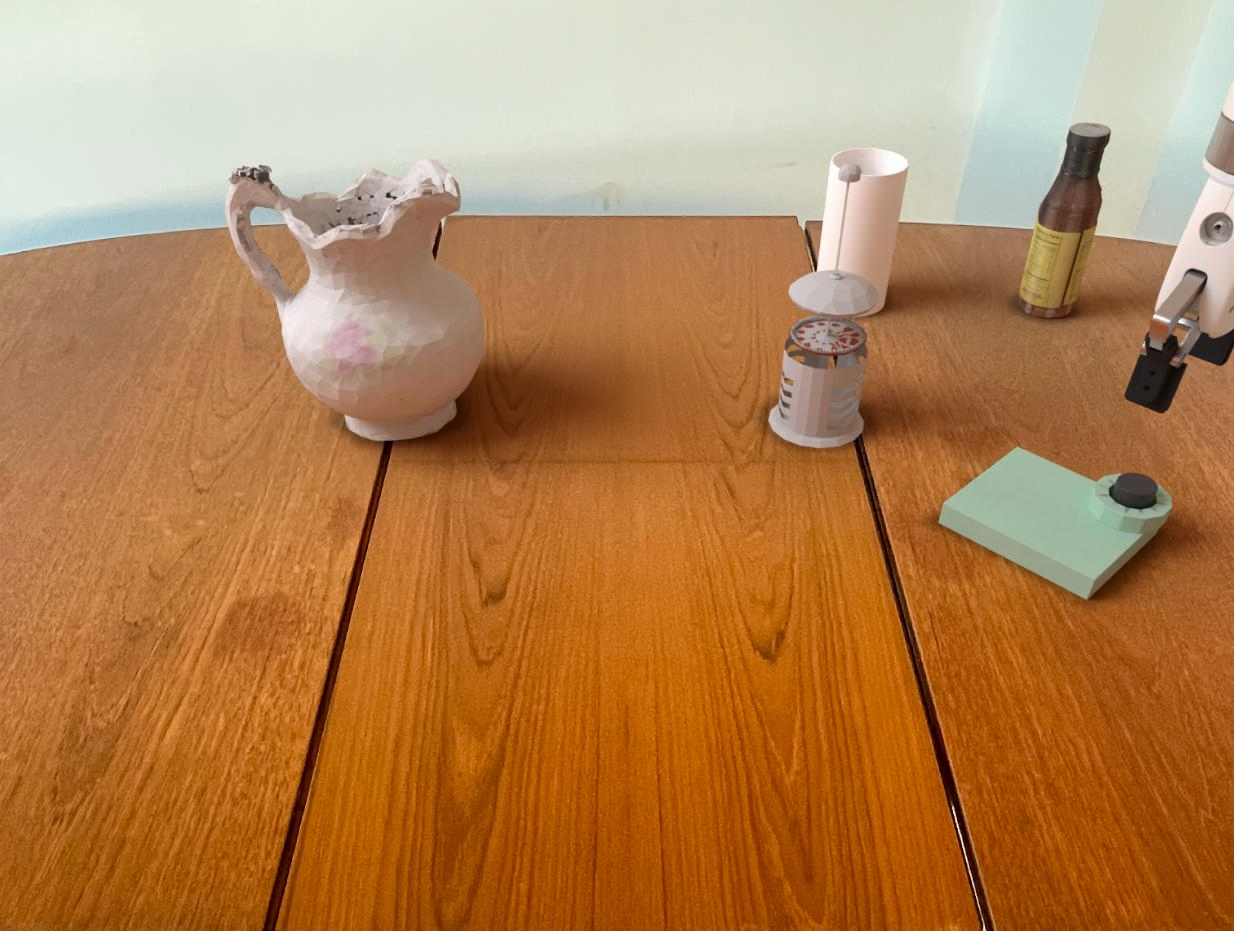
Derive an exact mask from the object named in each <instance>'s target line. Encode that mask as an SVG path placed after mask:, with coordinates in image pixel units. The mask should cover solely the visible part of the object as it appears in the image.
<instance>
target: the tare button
mask: <svg viewBox="0 0 1234 931" xmlns="http://www.w3.org/2000/svg"><path fill="white" fill-rule="evenodd" d="M1120 474H1121V475H1120V476H1119V477H1118V478H1117V480H1116V483H1115V485H1114V488H1113V490H1112V493H1111V495H1112V498H1113V500H1114V501H1115V502H1116V503H1118V504H1120V505H1122V506H1125V507H1127V508H1132V509H1139V510H1142V509H1146V508H1148V507H1149V506H1150V505H1151V504H1152V502H1153V500H1154V497H1155V495H1156V493H1157V491H1158V485H1159V484H1158V482H1156V481H1155V480H1154V479H1153V478H1151V477H1150V476H1148V475H1145V474H1143V473H1139V472H1124V473H1120ZM1157 484H1158V485H1157Z"/></svg>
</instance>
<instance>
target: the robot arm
mask: <svg viewBox="0 0 1234 931" xmlns="http://www.w3.org/2000/svg"><path fill="white" fill-rule="evenodd" d="M1201 166H1202V169H1203V170H1204V171H1205V172H1206V173H1207V174H1208V175H1209V177H1208V178H1207V181H1206V183H1205V185H1204V187H1203V190H1202V192H1201V194H1200V196H1199V198H1198V200H1197V202H1196V204H1195V206H1194V208H1193V211H1192V213H1191V215H1190V218H1189V220H1188V222H1187V224H1186V226H1185V229H1184V231H1183V233H1182V236H1181V238H1180V240H1179V242H1178V245H1177V247H1176V250H1175V252H1174V254H1173V257H1172V259H1171V261H1170V263H1169V266H1168V269H1167V271H1166V273H1165V277H1164V279H1163V282H1162V284H1161V287H1160V290H1159V293H1158V296H1157V299H1156V302H1155V306H1154V314H1153V316H1152V318H1151V321H1150V325H1149V331H1147V332H1146V334H1145V335H1144V339H1143V340H1144V341H1143V344H1142V345H1141V348H1140V350H1139V355H1138V358H1137V360H1136V364H1135V366H1134V368H1133V371H1132V373H1131V376H1130V378H1129V381H1128V384H1127V385H1126V390H1125V391H1124V399H1125V400H1126V401H1128V402H1131V403H1134V404H1136V405H1138V406H1140V407H1143V408H1145V409H1148V410H1151V411H1153V412H1155V413H1157V414H1165V413H1166V412H1167V411H1169V409H1170V407H1171V405H1172V404H1173V400H1174V398H1175V397H1176V393H1177V391H1178V388H1179V386H1180V384H1181V382H1182V379H1183V377H1184V374H1185V372H1186V370H1187V367H1188V365H1189V363H1186V362H1184V361H1185V360H1186V358H1187V357H1188V356H1190V357H1194V358H1197V359H1199V360H1202V361H1204V362H1207V363H1210V364H1212V365H1215V366H1219V367H1222V366H1224V365H1225V364H1227V363H1228V361H1229V359H1230V357H1231V355H1232V353H1233V351H1234V78H1233V80H1232V81H1231V84H1230V87H1229V90H1228V93H1227V95H1226V97H1225V100H1224V103H1223V106H1222V109H1221V111H1220V114H1219V117H1218V120H1217V122H1216V125H1215V126H1214V130H1213V133H1212V135H1211V138H1210V140H1209V143H1208V146H1207V149H1206V151H1205V153H1204V156H1203V159H1202V161H1201ZM1185 313H1189V314H1191V315H1195V316H1197V318H1196V319H1193V318H1190V317H1187V316H1184V315H1185ZM1177 329H1179V330H1182V331H1184V332H1187V333H1186V334H1185V336H1184V338H1183V339H1182V341H1181V343H1180V344H1179V339H1178V336H1176V335H1174V333H1175V332H1176V330H1177Z"/></svg>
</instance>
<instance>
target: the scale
mask: <svg viewBox="0 0 1234 931" xmlns="http://www.w3.org/2000/svg"><path fill="white" fill-rule="evenodd" d="M1121 474H1122V473H1115V474H1108V475H1103V476H1102V477H1101V478H1100V479H1098V480H1097V481H1095V480H1093V479H1091V478H1088V477H1086V476H1085V475H1082V474H1080V473H1077V472H1075V471H1073V470H1071V469H1069V468H1066V467H1064V466H1062V465H1060V464H1057V463H1055V462H1053V461H1051V460H1049V459H1047V458H1044V457H1042V456H1040V455H1038V454H1035V453H1033V452H1031V451H1029V450H1027V449H1024V448H1022V447H1019V446H1016V447H1015V448H1014V449H1012V450H1011V451H1009V452H1008V453H1007V454H1006V455H1005V456H1003V457H1002V458H1000V459H999V460H998V461H996V462H995V463H994V464H993V465H991V466H990V467H989V468H987V469H986V470H984V471H983V472H982V473H980V474H979V475H978V476H976V477H975V478H974V479H973V480H971V481H970V482H969V483H968V484H966V485H965V486H963V487H962V488H961V489H959V490H958V491H957V492H956V493H954V494H953V495H952V496H950V497H949V498H948V499H947V500H945V501H944V502H943V503H942V506H941V507H942V508H941V511H940V514H939V519H938V524H940V525H941V526H944V527H945V528H947V529H949V530H951V531H953V532H955V533H957V534H959V535H961V536H963V537H965V538H966V539H969V540H971V541H973V542H975V543H976V544H978V545H980V546H982V547H984V548H986V549H988V550H990V551H992V552H994V553H995V554H998V555H999V556H1001V557H1003V558H1005V559H1008V560H1009V561H1011V562H1013V563H1015V564H1017V565H1019V566H1020V567H1023V568H1024V569H1026V570H1029V571H1030V572H1033V573H1034V574H1036V575H1037V576H1040V577H1042V578H1044V579H1046V580H1048V581H1049V582H1052V583H1053V584H1056V585H1057V586H1059V587H1061V588H1063V589H1065V590H1067V591H1068V592H1071V593H1072V594H1074V595H1077V596H1078V597H1080V598H1082V599H1084V600H1086V601H1088V600H1089V599H1090V598H1091V597H1092V596H1093V595H1094V594H1095V593H1096V592H1097V591H1098V590H1100V588H1102V587H1103V585H1105V584H1106V583H1107V582H1108V581H1109V580H1110V579H1111V578H1112V577H1113V576H1114V575H1115V574H1116V573H1117V572H1118V571H1119V570H1121V568H1122V567H1123V566H1124V565H1125V564H1126V563H1128V562H1129V561H1130V559H1132V558H1133V557H1134V556H1135V555H1136V554H1137V553H1138V552H1139V551H1140V550H1142V548H1143V547H1144V546H1145V545H1146V544H1147V543H1148V542H1150V540H1151V539H1152V538H1154V537H1155V536H1156V535H1157V534H1158V531H1159V530H1160V528H1161V527H1162V526H1163V525H1164V524H1165V523H1166V522H1167V520H1168V518H1169V516H1170V513H1171V512H1172V510H1173V501H1172V495H1171V494H1170V493H1169V492H1167V490H1165V489H1164V487H1163V486H1161V485H1160V484H1159V483H1157V485H1158V491H1157V493H1156V495H1155V497H1154V500H1153V502H1152V504H1151V505H1150V506H1149V507H1148V508H1146V509H1142V510H1139V509H1132V508H1127V507H1125V506H1122V505H1120V504H1118V503H1116V502H1115V501H1114V500H1113V498H1112V495H1111V493H1112V490H1113V488H1114V485H1115V483H1116V480H1117V478H1118V477H1119V476H1120V475H1121Z"/></svg>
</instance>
